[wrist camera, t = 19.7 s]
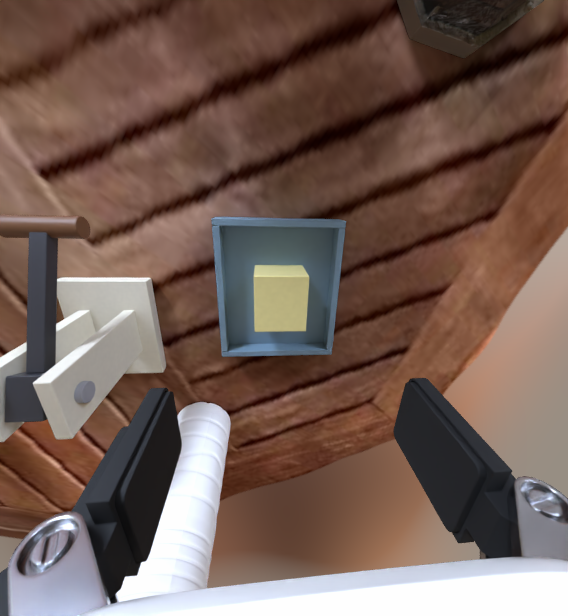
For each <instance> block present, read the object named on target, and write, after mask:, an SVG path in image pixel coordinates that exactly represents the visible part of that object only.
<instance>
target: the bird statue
mask: <svg viewBox="0 0 568 616" xmlns="http://www.w3.org/2000/svg"><path fill="white" fill-rule="evenodd" d="M543 1H544V0H397V2H398V5H399V8H400V11H401V14H402V17H403V20H404V23H405V26H406V29H407V32H408V35H409V38H410V39H411V40H414V41H417V42H420V43H422V44H425V45H428V46H431V47H433V48H436V49H439V50H442V51H444V52H447V53H450V54H453V55H455V56H458V57H461V58H465V57H467V56H468V55H470V54H471V53H473V52H474V51H475V50H477V49H478V48H480V47H481V46H483V45H484V44H485V43H487V42H488V41H489V40H491V39H492V38H493V37H495V36H496V35H498V34H499V33H500V32H502V31H503V30H504V29H506V28H507V27H509V26H510V25H511V24H513V23H514V22H515V21H517V20H518V19H520V18H521V17H522V16H524V15H525V14H526V13H528V12H529V11H531V10H532V9H533V8H535V7H536V6H537V5H539V4H540V3H542V2H543Z"/></svg>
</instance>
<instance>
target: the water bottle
mask: <svg viewBox="0 0 568 616" xmlns="http://www.w3.org/2000/svg"><path fill="white" fill-rule="evenodd" d="M177 418H178V423H179V429H180V435H181V440H182V448H181V453H180V456H179V459H178V463H177V466H176V469H175V473H174V476H173V479H172V482H171V486H170V489H169V492H168V495H167V499H166V502H165V505H164V509H163V512H162V515H161V518H160V522H159V525H158V528H157V532H156V535H155V538H154V541H153V545H152V548H151V551H150V554H149V557H148V559H147V560H146V561H145V562H141V565H140V568H139V571H138V574H137V576H129V577H125V578H124V581H123V584H122V587H121V589H120V590H119V591H118V592H117V596H118V600H119V602H122V601H127V600H132V599H137V598H142V597H147V596H154V595H161V594H169V593H176V592H184V591H191V590H198V589H206V588H207V580H208V576H209V566H210V562H211V552H212V548H213V543H214V537H215V531H216V517H217V514H218V509H219V503H220V493H221V489H222V478H223V474H224V468H225V457H226V454H227V447H228V440H229V434H230V427H231V422H230V418H229V415H228V414H227V412H226V411H225V410H223V409H222V408H221V407H220V406H218V405H216V404H213V403H209V404H208V403H206V402H197V403H193V404H192V405H188V406H186V407H185V408H183V409H182V410H181V411H180V413H179V414H178V416H177Z"/></svg>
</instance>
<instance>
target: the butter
mask: <svg viewBox="0 0 568 616" xmlns="http://www.w3.org/2000/svg"><path fill="white" fill-rule="evenodd" d="M308 291H309V275H308V274H307V272H306V270H305V269H304V267H303V266H302V265H255V269H254V326H255V332H285V331H306V321H307V306H308Z"/></svg>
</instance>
